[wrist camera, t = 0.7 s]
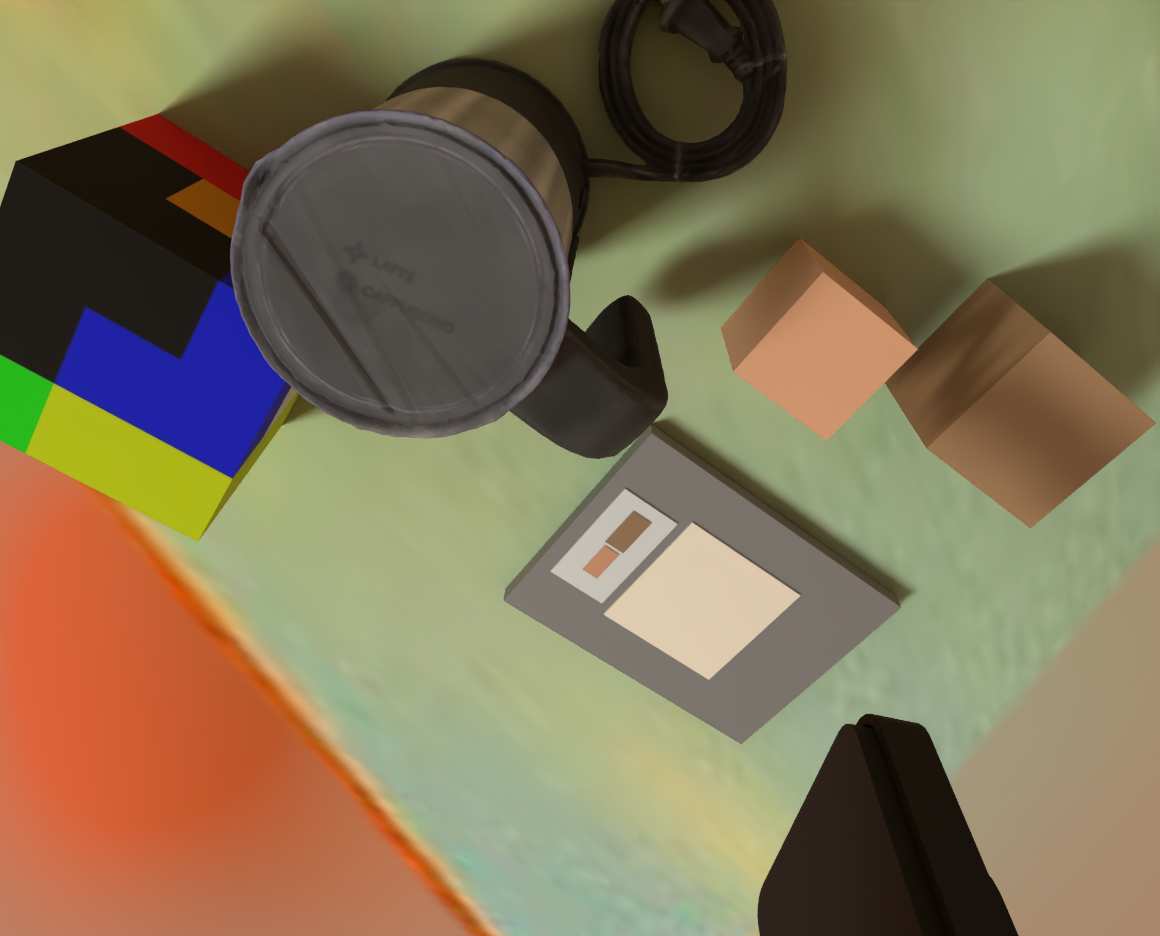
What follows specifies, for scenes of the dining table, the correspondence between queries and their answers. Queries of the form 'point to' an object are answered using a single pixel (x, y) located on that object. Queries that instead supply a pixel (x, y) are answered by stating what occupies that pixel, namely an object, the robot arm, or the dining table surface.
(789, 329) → the terracotta block
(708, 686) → the board
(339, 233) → the milk frother
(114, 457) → the puzzle toy
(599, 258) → the dining table surface
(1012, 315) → the walnut cube
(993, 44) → the dining table surface
